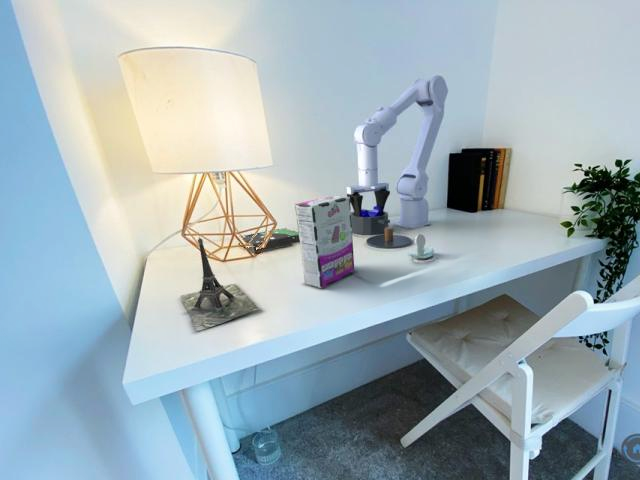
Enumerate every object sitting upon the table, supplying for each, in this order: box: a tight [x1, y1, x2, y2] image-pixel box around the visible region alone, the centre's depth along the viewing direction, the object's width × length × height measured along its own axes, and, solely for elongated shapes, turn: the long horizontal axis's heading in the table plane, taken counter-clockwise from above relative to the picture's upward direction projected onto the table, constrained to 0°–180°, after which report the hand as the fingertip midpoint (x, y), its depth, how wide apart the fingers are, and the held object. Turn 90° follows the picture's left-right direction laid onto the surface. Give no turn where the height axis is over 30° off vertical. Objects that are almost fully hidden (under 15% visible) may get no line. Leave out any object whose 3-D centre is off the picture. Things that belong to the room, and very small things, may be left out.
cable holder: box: [361, 205, 382, 217], centre depth 105 cm, size 8×4×4 cm, turn 139°
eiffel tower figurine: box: [180, 232, 260, 332], centre depth 58 cm, size 15×10×13 cm
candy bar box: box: [294, 195, 355, 289], centre depth 69 cm, size 11×5×16 cm, turn 148°
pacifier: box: [406, 233, 438, 264], centre depth 81 cm, size 7×6×6 cm
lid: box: [365, 226, 413, 250], centre depth 94 cm, size 13×13×5 cm
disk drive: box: [237, 227, 300, 253], centre depth 95 cm, size 10×3×15 cm
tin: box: [351, 209, 391, 236], centre depth 106 cm, size 12×17×6 cm
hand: (369, 215), depth 105 cm, fingers closed on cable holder, 7 cm apart
